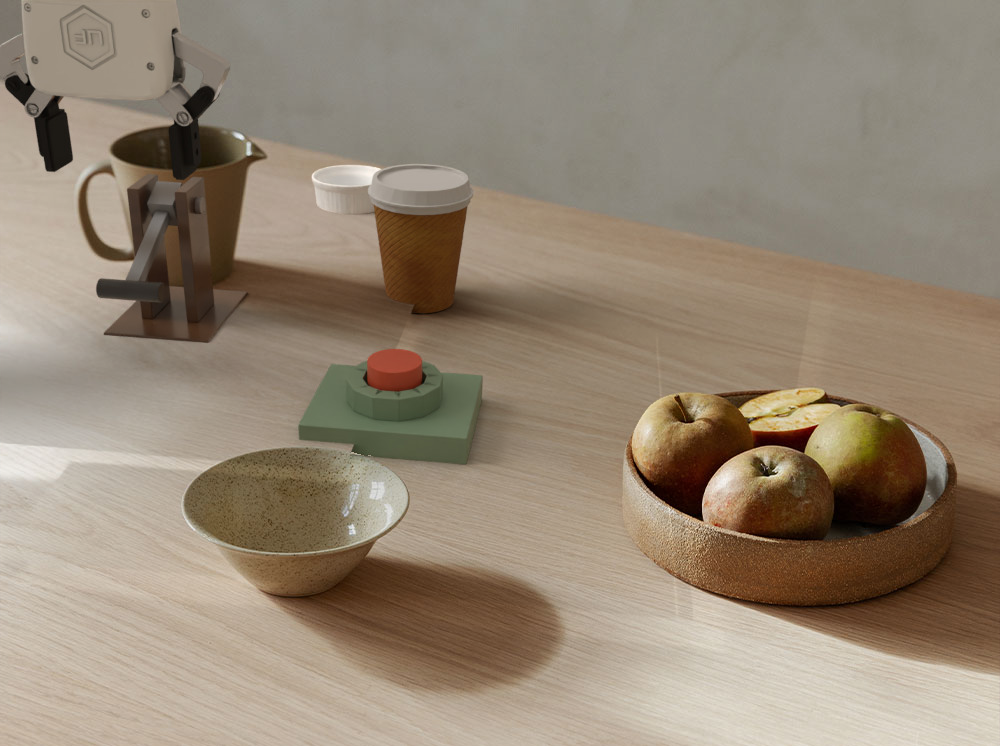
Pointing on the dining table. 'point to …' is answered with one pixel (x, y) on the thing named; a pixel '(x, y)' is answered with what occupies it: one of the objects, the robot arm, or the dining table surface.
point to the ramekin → (344, 188)
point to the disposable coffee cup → (420, 231)
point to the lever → (146, 251)
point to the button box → (396, 415)
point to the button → (394, 370)
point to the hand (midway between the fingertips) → (122, 170)
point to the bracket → (197, 303)
